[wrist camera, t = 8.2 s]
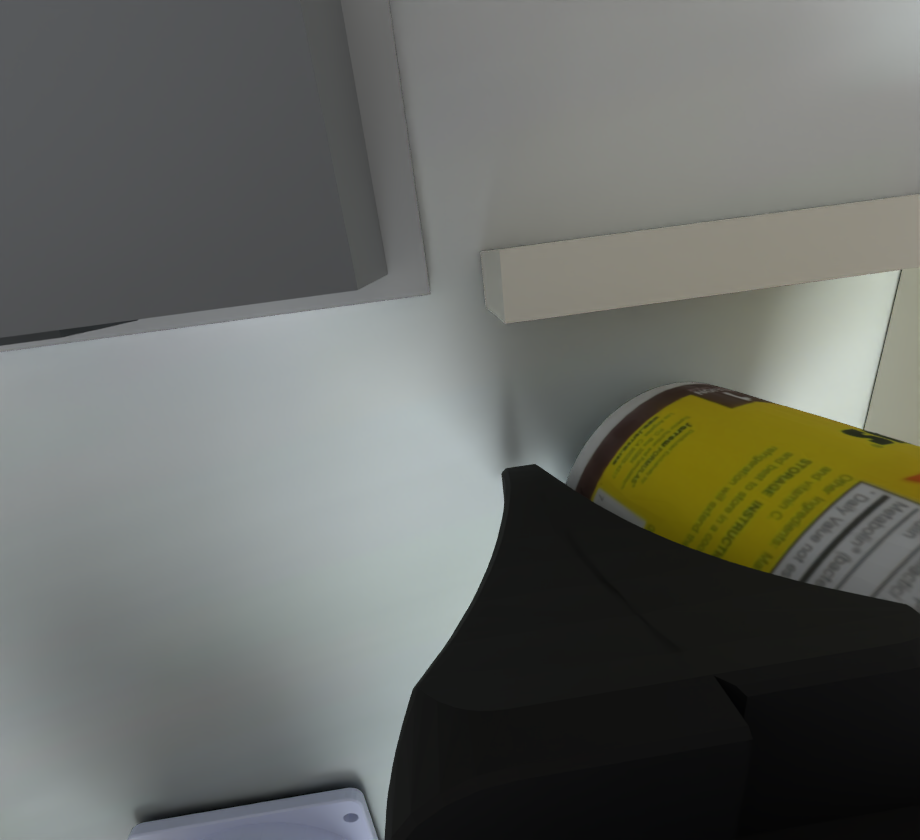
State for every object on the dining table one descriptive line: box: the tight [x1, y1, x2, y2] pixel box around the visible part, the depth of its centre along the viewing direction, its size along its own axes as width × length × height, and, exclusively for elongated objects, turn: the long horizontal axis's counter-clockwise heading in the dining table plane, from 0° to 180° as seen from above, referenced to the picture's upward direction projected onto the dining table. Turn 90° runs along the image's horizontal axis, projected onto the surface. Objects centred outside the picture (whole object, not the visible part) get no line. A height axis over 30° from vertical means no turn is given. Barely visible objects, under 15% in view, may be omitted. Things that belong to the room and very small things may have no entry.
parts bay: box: [480, 194, 920, 446], centre depth 10 cm, size 11×11×2 cm
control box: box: [0, 0, 430, 352], centre depth 6 cm, size 6×10×5 cm, turn 97°
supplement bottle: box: [566, 382, 920, 613], centre depth 6 cm, size 6×6×10 cm
